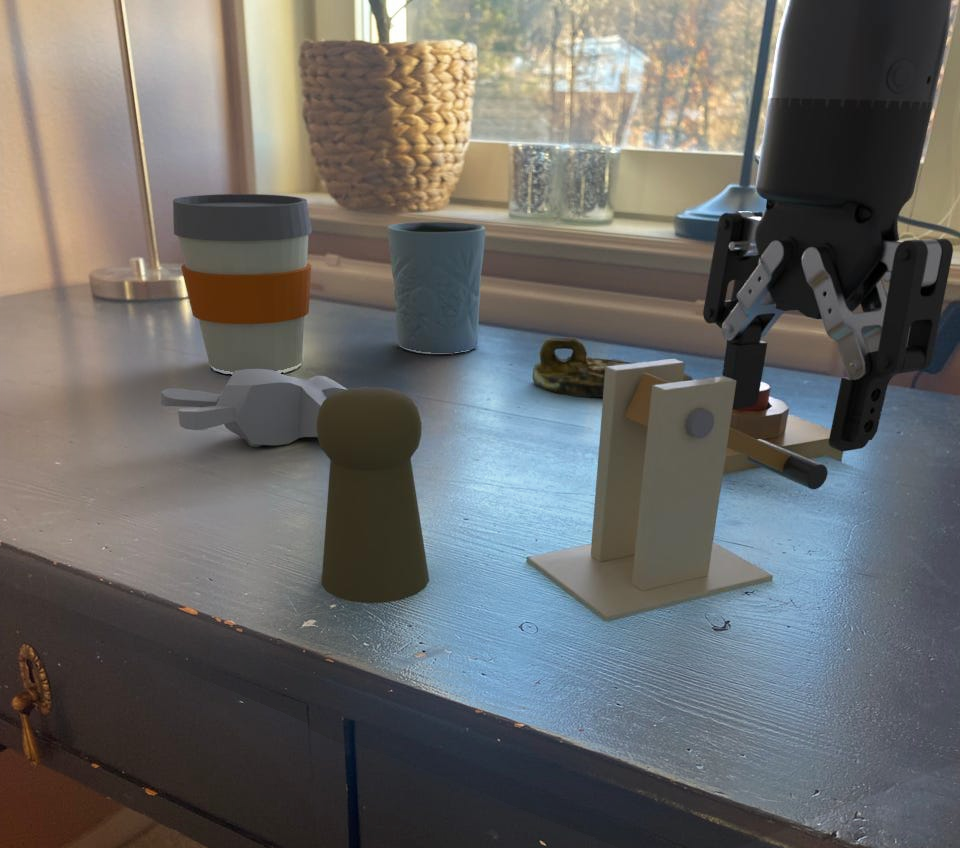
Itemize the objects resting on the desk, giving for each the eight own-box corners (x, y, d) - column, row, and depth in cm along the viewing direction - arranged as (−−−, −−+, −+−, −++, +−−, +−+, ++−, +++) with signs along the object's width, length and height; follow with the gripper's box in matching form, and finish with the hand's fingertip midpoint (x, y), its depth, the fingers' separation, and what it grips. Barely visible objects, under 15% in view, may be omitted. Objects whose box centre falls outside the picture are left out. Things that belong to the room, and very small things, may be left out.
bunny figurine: (386, 391, 74) (185, 389, 66) (380, 456, 76) (186, 462, 69) (340, 363, 81) (154, 359, 74) (336, 424, 83) (156, 426, 76)
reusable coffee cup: (342, 370, 95) (333, 203, 88) (219, 388, 89) (198, 209, 81) (288, 345, 104) (276, 192, 97) (172, 359, 98) (150, 196, 90)
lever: (754, 473, 58) (773, 435, 57) (815, 500, 54) (836, 460, 53) (608, 409, 51) (627, 365, 50) (666, 436, 47) (688, 389, 46)
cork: (330, 568, 56) (317, 375, 50) (435, 570, 55) (434, 377, 50) (310, 617, 50) (294, 408, 45) (427, 621, 50) (424, 411, 45)
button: (744, 399, 75) (748, 376, 74) (777, 411, 72) (781, 388, 71) (707, 404, 73) (710, 381, 72) (739, 417, 71) (743, 393, 70)
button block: (751, 427, 81) (758, 379, 79) (841, 463, 73) (852, 411, 71) (632, 446, 76) (637, 395, 74) (716, 487, 68) (723, 431, 66)
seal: (688, 390, 94) (536, 380, 96) (695, 340, 93) (539, 330, 94) (694, 406, 86) (526, 394, 88) (701, 350, 84) (529, 340, 86)
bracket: (680, 542, 60) (705, 346, 54) (770, 595, 53) (809, 380, 48) (525, 575, 55) (534, 366, 49) (604, 637, 49) (625, 406, 43)
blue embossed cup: (415, 360, 99) (413, 233, 93) (375, 340, 107) (370, 222, 101) (501, 350, 104) (504, 229, 98) (456, 332, 111) (456, 218, 105)
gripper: (1036, 96, 42) (941, 455, 50) (802, 93, 53) (754, 388, 61) (915, 92, 39) (834, 475, 47) (693, 89, 50) (658, 401, 58)
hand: (789, 426), depth 54 cm, fingers open, 8 cm apart
